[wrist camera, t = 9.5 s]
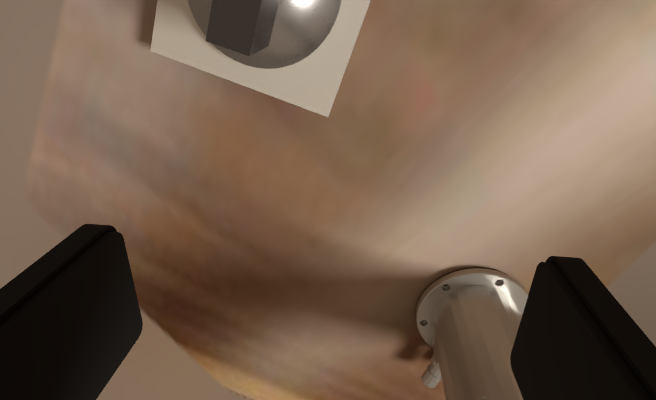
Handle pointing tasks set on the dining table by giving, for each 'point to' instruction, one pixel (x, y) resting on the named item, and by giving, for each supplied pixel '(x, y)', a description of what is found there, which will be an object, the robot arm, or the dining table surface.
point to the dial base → (283, 83)
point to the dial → (266, 28)
